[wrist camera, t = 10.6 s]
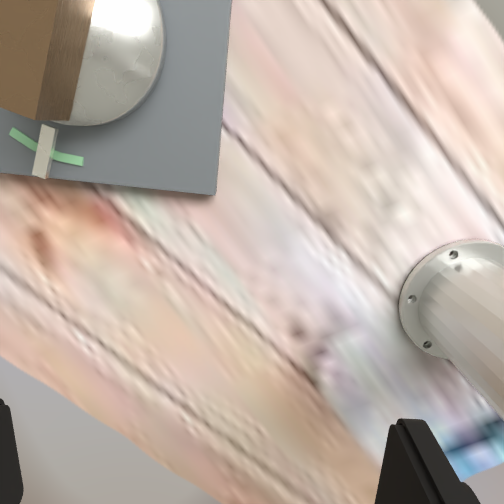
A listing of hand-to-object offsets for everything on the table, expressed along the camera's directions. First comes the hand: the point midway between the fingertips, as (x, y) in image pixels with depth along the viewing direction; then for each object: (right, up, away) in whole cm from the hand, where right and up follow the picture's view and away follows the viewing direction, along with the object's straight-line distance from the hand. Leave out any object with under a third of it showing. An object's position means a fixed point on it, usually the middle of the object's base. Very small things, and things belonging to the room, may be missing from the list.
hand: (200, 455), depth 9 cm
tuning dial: (-12, +19, +20) cm, 30 cm away
